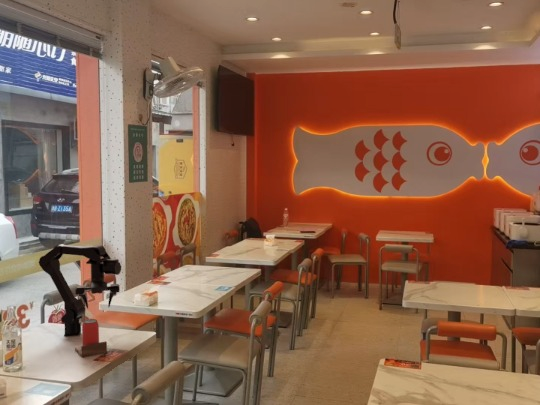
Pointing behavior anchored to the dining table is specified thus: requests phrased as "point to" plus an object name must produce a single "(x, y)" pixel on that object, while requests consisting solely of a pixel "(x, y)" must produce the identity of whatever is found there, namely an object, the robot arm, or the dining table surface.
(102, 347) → the walnut backstop pad
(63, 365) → the dining table surface
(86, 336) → the beer can
